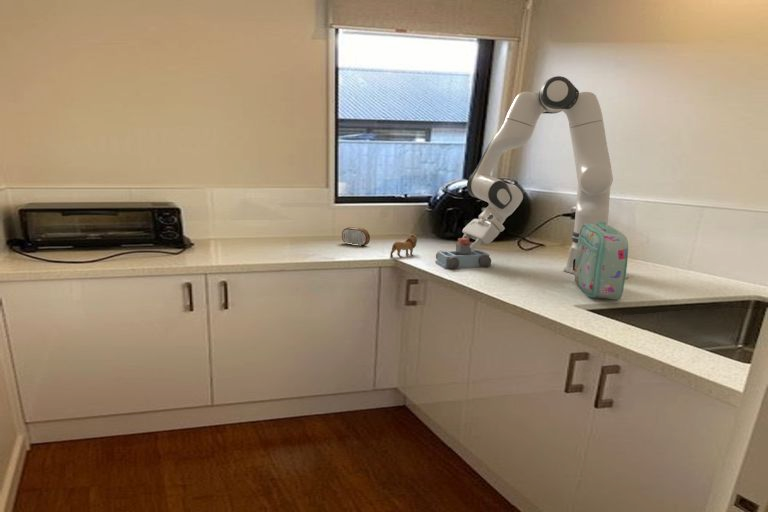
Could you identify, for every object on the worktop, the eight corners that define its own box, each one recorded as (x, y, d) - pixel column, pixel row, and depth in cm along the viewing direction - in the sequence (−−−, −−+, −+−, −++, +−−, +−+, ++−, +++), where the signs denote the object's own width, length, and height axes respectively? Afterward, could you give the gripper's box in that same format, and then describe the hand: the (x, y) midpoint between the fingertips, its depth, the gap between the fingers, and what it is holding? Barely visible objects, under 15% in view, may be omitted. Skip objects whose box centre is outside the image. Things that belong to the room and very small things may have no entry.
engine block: (470, 262, 185) (471, 239, 183) (459, 262, 184) (460, 239, 182) (466, 259, 189) (466, 237, 187) (455, 260, 188) (456, 238, 186)
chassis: (492, 266, 182) (493, 255, 181) (446, 269, 178) (446, 257, 177) (477, 259, 195) (478, 248, 194) (433, 261, 191) (434, 250, 190)
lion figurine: (411, 253, 208) (411, 232, 206) (420, 254, 204) (420, 234, 203) (386, 257, 199) (386, 236, 197) (395, 259, 195) (395, 238, 193)
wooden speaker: (370, 246, 224) (370, 228, 222) (366, 247, 221) (366, 229, 220) (344, 243, 232) (344, 226, 230) (340, 244, 229) (340, 227, 227)
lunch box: (569, 279, 163) (574, 217, 159) (600, 281, 162) (606, 218, 157) (588, 303, 137) (595, 230, 133) (626, 305, 136) (635, 230, 131)
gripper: (473, 212, 194) (450, 236, 194) (496, 218, 175) (470, 245, 174) (483, 222, 196) (460, 246, 196) (507, 229, 177) (481, 256, 176)
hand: (465, 246), depth 185 cm, fingers open, 8 cm apart
